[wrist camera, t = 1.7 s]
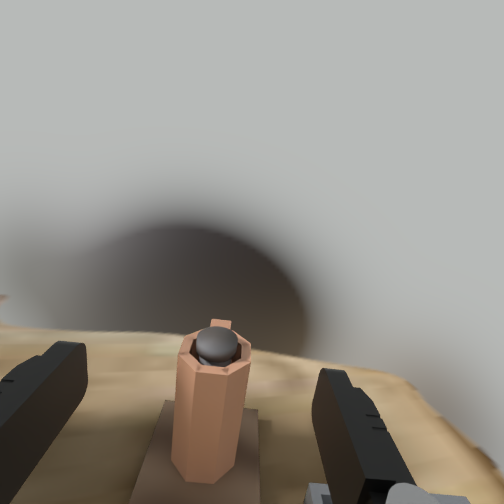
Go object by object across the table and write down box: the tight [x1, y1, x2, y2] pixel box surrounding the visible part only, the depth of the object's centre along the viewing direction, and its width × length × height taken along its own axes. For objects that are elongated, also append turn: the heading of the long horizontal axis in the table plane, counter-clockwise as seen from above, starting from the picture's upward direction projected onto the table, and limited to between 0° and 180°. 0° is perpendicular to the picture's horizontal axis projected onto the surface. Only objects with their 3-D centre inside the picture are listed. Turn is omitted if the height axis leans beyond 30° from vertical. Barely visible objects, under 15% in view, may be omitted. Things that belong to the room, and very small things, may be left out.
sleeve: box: [171, 319, 251, 484], centre depth 25 cm, size 7×6×11 cm
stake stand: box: [128, 326, 260, 504], centre depth 24 cm, size 10×10×14 cm
